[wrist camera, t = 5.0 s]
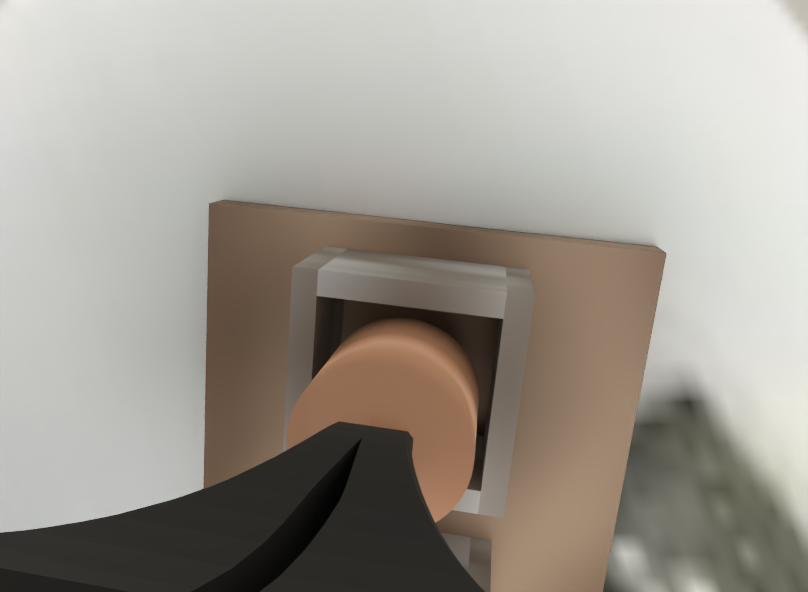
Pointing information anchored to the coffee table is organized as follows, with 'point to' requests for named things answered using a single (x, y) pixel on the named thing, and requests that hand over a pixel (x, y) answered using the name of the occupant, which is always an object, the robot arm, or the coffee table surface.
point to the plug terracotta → (402, 400)
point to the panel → (479, 337)
